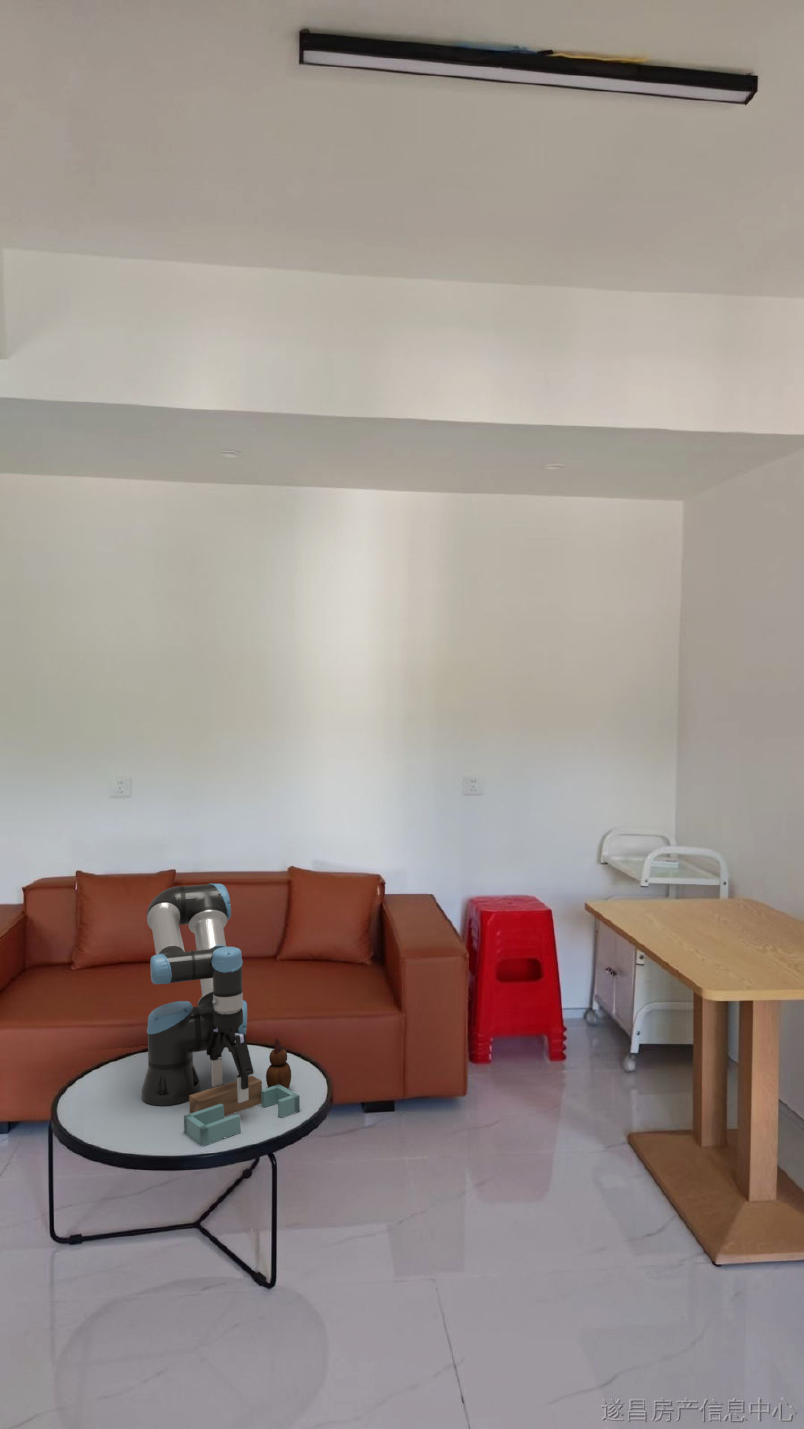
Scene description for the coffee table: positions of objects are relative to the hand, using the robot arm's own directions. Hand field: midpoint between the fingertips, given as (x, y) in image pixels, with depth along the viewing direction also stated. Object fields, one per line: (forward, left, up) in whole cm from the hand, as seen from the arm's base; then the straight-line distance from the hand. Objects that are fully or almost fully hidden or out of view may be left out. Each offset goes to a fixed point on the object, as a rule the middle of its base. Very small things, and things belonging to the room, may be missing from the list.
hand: (229, 1092), depth 220 cm
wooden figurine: (-1, +15, -4) cm, 16 cm away
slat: (0, -1, -4) cm, 5 cm away
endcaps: (+8, -1, -4) cm, 10 cm away
